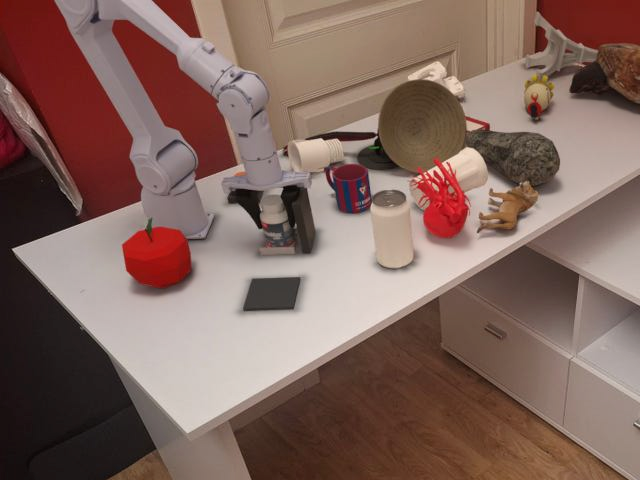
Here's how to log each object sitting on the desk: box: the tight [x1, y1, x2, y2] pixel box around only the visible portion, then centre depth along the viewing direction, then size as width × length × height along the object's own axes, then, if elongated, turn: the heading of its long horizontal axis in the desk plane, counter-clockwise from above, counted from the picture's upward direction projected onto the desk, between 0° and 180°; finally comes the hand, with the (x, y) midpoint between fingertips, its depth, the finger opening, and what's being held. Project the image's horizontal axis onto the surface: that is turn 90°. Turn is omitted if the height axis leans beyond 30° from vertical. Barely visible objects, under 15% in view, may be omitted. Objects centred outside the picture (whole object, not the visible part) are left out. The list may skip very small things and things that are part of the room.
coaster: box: [242, 276, 301, 312], centre depth 115 cm, size 8×8×1 cm
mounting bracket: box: [407, 61, 466, 99], centre depth 171 cm, size 12×6×11 cm
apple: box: [121, 217, 192, 289], centre depth 115 cm, size 11×11×10 cm
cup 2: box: [408, 147, 489, 211], centre depth 134 cm, size 8×8×14 cm
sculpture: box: [568, 42, 640, 104], centre depth 165 cm, size 16×17×25 cm
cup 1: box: [324, 163, 372, 214], centre depth 134 cm, size 7×10×7 cm
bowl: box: [377, 78, 467, 174], centre depth 145 cm, size 18×18×8 cm
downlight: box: [287, 138, 345, 173], centre depth 144 cm, size 8×7×10 cm
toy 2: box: [523, 74, 555, 121], centre depth 163 cm, size 7×7×15 cm
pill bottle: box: [259, 193, 297, 248], centre depth 123 cm, size 5×5×9 cm
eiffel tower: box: [524, 11, 599, 81], centre depth 182 cm, size 13×13×30 cm
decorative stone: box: [466, 129, 561, 187], centre depth 140 cm, size 22×10×10 cm
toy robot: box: [356, 130, 401, 171], centre depth 145 cm, size 12×12×12 cm
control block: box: [226, 190, 264, 204], centre depth 137 cm, size 6×6×3 cm
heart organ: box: [408, 158, 471, 239], centre depth 124 cm, size 10×12×12 cm
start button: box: [233, 171, 246, 176], centre depth 136 cm, size 3×3×2 cm
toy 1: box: [282, 131, 377, 156], centre depth 148 cm, size 2×22×5 cm
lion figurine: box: [476, 181, 539, 234], centre depth 129 cm, size 15×5×9 cm
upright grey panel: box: [259, 186, 316, 256], centre depth 122 cm, size 9×7×10 cm
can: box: [370, 188, 415, 270], centre depth 118 cm, size 6×6×12 cm
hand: (278, 225), depth 123 cm, fingers closed on pill bottle, 4 cm apart
